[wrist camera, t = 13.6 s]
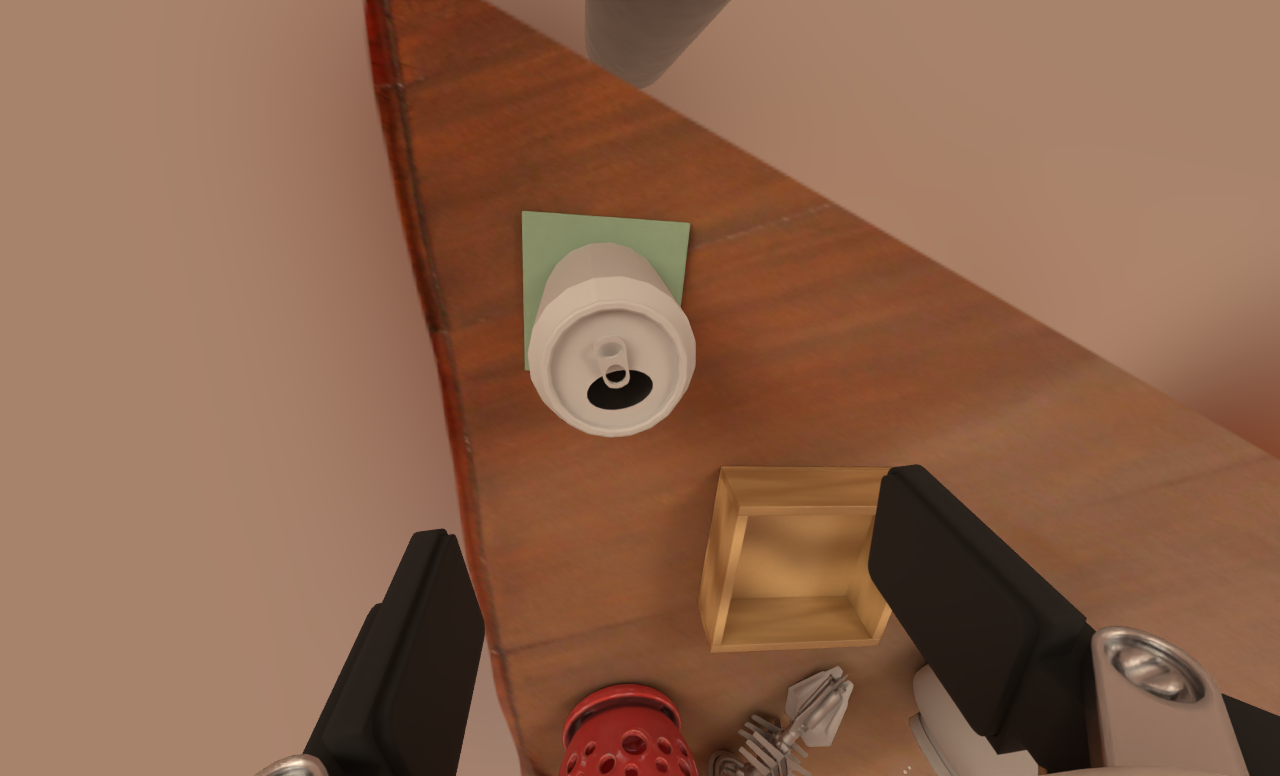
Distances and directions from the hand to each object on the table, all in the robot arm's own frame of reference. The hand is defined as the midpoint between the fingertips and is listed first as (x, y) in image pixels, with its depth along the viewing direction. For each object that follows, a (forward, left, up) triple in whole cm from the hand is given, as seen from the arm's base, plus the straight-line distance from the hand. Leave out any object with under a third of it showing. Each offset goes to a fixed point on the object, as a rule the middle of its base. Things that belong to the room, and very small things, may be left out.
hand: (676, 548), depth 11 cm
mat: (0, -1, -23) cm, 23 cm away
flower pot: (+42, +3, -23) cm, 48 cm away
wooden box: (+20, +16, -23) cm, 35 cm away
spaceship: (+50, +15, -23) cm, 57 cm away
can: (0, -1, -23) cm, 23 cm away
